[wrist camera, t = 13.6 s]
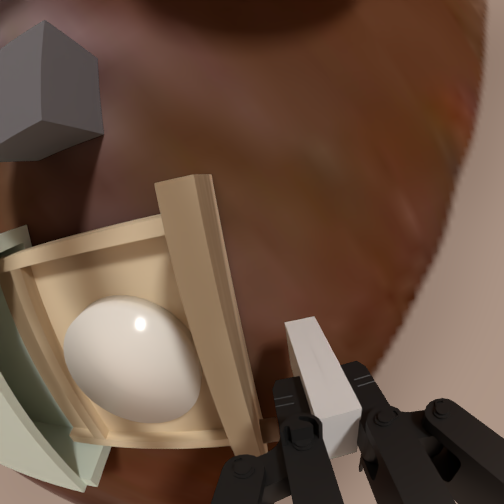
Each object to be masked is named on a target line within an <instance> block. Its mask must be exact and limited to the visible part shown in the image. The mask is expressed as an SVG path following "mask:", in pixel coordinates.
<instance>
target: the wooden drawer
mask: <svg viewBox="0 0 504 504" xmlns="http://www.w3.org/2000/svg"><path fill="white" fill-rule="evenodd" d="M154 184H155V190H156V195H157V200H158V204H159V209H160V214H159V215H154V216H150V217H145V218H141V219H137V220H132V221H128V222H124V223H120V224H115V225H111V226H107V227H103V228H99V229H95V230H91V231H88V232H84V233H80V234H76V235H72V236H69V237H65V238H61V239H58V240H54V241H51V242H47V243H44V244H40V245H37V246H33V247H30V248H27V249H23V250H20V251H17V252H14V253H10V254H7V255H4V256H1V257H0V286H1V289H2V291H3V294H4V297H5V300H6V302H7V305H8V308H9V310H10V313H11V315H12V318H13V320H14V322H15V325H16V327H17V329H18V332H19V334H20V336H21V338H22V340H23V343H24V345H25V347H26V349H27V351H28V353H29V355H30V357H31V359H32V361H33V363H34V365H35V366H36V368H37V370H38V372H39V374H40V376H41V377H42V379H43V381H44V383H45V384H46V386H47V388H48V389H49V391H50V393H51V394H52V396H53V398H54V399H55V401H56V402H57V404H58V406H59V407H60V409H61V410H62V412H63V413H64V415H65V416H66V418H67V419H68V420H69V422H70V423H71V425H72V426H73V429H72V431H71V433H70V435H69V436H70V437H71V438H72V440H73V441H74V442H80V443H87V444H94V445H103V446H114V447H127V448H147V449H187V448H208V447H221V446H231V447H232V450H233V452H234V455H235V456H237V455H243V454H249V455H253V456H256V457H258V456H260V455H263V454H265V453H267V452H268V448H267V443H271V442H277V441H279V440H280V436H279V430H278V424H277V419H276V417H271V418H265V419H263V418H262V413H261V409H260V405H259V401H258V397H257V392H256V388H255V384H254V379H253V375H252V371H251V366H250V362H249V357H248V353H247V348H246V344H245V339H244V335H243V330H242V326H241V321H240V316H239V312H238V307H237V302H236V298H235V293H234V288H233V283H232V278H231V273H230V269H229V264H228V259H227V254H226V249H225V244H224V239H223V233H222V228H221V223H220V218H219V213H218V208H217V202H216V197H215V192H214V186H213V181H212V175H211V174H194V175H189V176H184V177H180V178H175V179H171V180H166V181H162V182H158V183H154ZM113 295H129V296H136V297H139V298H143V299H146V300H149V301H151V302H154V303H156V304H158V305H160V306H162V307H163V308H165V309H166V310H168V311H169V312H171V313H172V314H174V315H175V316H176V317H177V318H178V319H180V320H181V321H182V322H183V324H184V325H185V326H186V327H187V328H188V329H189V331H190V332H191V334H192V337H193V340H194V344H195V347H196V350H197V353H198V356H199V359H200V362H201V365H202V369H203V371H202V379H201V387H200V393H199V396H198V399H197V401H196V403H195V404H194V406H193V407H192V408H191V409H190V410H189V411H188V412H187V413H185V414H184V415H183V416H181V417H179V418H177V419H174V420H171V421H167V422H163V423H141V422H135V421H131V420H127V419H124V418H121V417H119V416H116V415H114V414H112V413H110V412H108V411H106V410H105V409H103V408H101V407H100V406H99V405H97V404H96V403H94V402H93V401H92V400H91V399H90V398H89V397H87V396H86V394H85V393H84V392H83V391H82V390H81V389H80V388H79V387H78V385H77V384H76V382H75V381H74V379H73V378H72V376H71V374H70V372H69V370H68V367H67V365H66V362H65V358H64V350H63V346H64V338H65V334H66V332H67V329H68V328H69V326H70V325H71V323H72V322H73V321H74V320H75V319H76V318H77V317H78V316H79V315H80V314H81V312H82V311H83V310H84V309H85V308H86V307H87V306H88V305H90V304H91V303H93V302H94V301H96V300H98V299H100V298H103V297H107V296H113Z"/></svg>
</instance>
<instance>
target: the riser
mask: <svg viewBox="0 0 504 504" xmlns="http://www.w3.org/2000/svg"><path fill="white" fill-rule="evenodd" d="M101 135H104V130H103V122H102V113H101V103H100V92H99V77H98V58H96V57H95V56H94V55H92V54H91V53H90V52H88V51H87V50H86V49H84V48H83V47H82V46H80V45H79V44H78V43H76V42H75V41H74V40H72V39H71V38H69V37H68V36H67V35H65V34H64V33H63V32H61V31H60V30H58V29H57V28H56V27H54V26H53V25H51V24H50V23H49V22H47V21H46V20H44V21H42V22H40V23H39V24H37V25H35V26H34V27H32V28H31V29H29V30H27V31H26V32H24V33H23V34H21V35H20V36H18V37H17V38H15V39H14V40H12V41H11V42H10V43H8V44H7V45H5V46H4V47H3V48H1V49H0V162H12V161H39V160H41V159H43V158H46V157H48V156H50V155H52V154H55V153H57V152H59V151H62V150H64V149H67V148H69V147H72V146H74V145H77V144H79V143H82V142H85V141H87V140H90V139H93V138H95V137H98V136H101Z"/></svg>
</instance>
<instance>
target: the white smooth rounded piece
mask: <svg viewBox="0 0 504 504" xmlns="http://www.w3.org/2000/svg"><path fill="white" fill-rule="evenodd" d="M63 350H64V358H65V362H66V365H67V367H68V370H69V372H70V374H71V376H72V378H73V379H74V381H75V382H76V384H77V385H78V387H79V388H80V389H81V390H82V391H83V392H84V393H85V394H86V396H87V397H89V398H90V399H91V400H92V401H93V402H94V403H96V404H97V405H99V406H100V407H101V408H103V409H105V410H106V411H108V412H110V413H112V414H114V415H116V416H119V417H121V418H124V419H127V420H131V421H135V422H141V423H163V422H167V421H171V420H174V419H177V418H179V417H181V416H183V415H184V414H185V413H187V412H188V411H189V410H190V409H191V408H192V407H193V406H194V404H195V403H196V401H197V399H198V396H199V393H200V387H201V379H202V371H203V369H202V365H201V362H200V359H199V356H198V353H197V350H196V347H195V344H194V340H193V337H192V334H191V332H190V331H189V329H188V328H187V327H186V326H185V325H184V324H183V322H182V321H181V320H180V319H178V318H177V317H176V316H175V315H174V314H172V313H171V312H169V311H168V310H166V309H165V308H163V307H162V306H160V305H158V304H156V303H154V302H151V301H149V300H146V299H143V298H139V297H136V296H129V295H113V296H107V297H103V298H100V299H98V300H96V301H94V302H93V303H91V304H90V305H88V306H87V307H86V308H85V309H84V310H83V311H82V312H81V314H80V315H79V316H78V317H77V318H76V319H75V320H74V321H73V322H72V323H71V325H70V326H69V328H68V329H67V332H66V334H65V338H64V346H63Z"/></svg>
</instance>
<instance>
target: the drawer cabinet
mask: <svg viewBox="0 0 504 504" xmlns="http://www.w3.org/2000/svg"><path fill="white" fill-rule="evenodd" d="M30 247H32V244H31V240H30V236H29V232H28V227H27V225H24V226H21V227H18V228H15V229H12V230H9V231H7V232H4V233H1V234H0V257H1V256H4V255H7V254H10V253H14V252H17V251H20V250H23V249H27V248H30ZM72 429H73V426H72V425H71V423H70V422H69V420H68V419H67V418H66V416H65V415H64V413H63V412H62V410H61V409H60V407H59V406H58V404H57V402H56V401H55V399H54V398H53V396H52V394H51V393H50V391H49V389H48V388H47V386H46V384H45V383H44V381H43V379H42V377H41V376H40V374H39V372H38V370H37V368H36V366H35V365H34V363H33V361H32V359H31V357H30V355H29V353H28V351H27V349H26V347H25V345H24V343H23V340H22V338H21V336H20V334H19V332H18V329H17V327H16V325H15V322H14V320H13V318H12V315H11V313H10V310H9V308H8V305H7V302H6V300H5V297H4V294H3V291H2V289H1V286H0V464H2V465H4V466H6V467H8V468H11V469H13V470H15V471H18V472H20V473H23V474H26V475H28V476H31V477H34V478H36V479H39V480H42V481H45V482H48V483H51V484H55V485H58V486H61V487H65V488H68V489H72V490H76V491H80V492H85V489H86V486H87V485H90V486H94V487H98V484H99V481H100V478H101V475H102V472H103V469H104V466H105V463H106V461H107V458H108V455H109V452H110V449H111V447H112V446H103V445H94V444H87V443H80V442H74V441H73V440H72V438H71V437H70V436H69V435H70V433H71V431H72Z"/></svg>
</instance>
